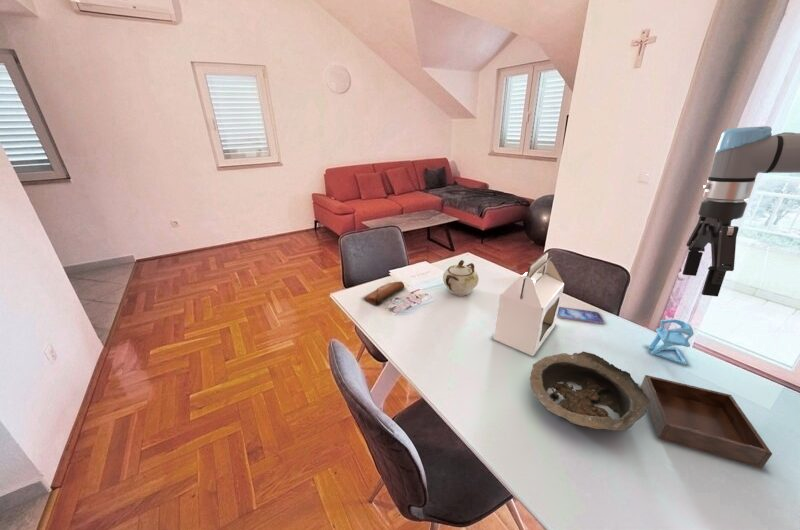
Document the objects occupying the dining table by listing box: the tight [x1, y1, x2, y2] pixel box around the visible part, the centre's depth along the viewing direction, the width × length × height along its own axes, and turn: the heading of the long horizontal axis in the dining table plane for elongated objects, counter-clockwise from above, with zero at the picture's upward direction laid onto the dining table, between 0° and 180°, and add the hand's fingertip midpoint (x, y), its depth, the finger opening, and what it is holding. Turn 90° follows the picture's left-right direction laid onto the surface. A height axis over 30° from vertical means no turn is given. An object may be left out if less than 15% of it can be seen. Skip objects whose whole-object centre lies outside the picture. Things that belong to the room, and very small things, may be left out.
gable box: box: [493, 251, 565, 357], centre depth 103 cm, size 22×13×28 cm, turn 139°
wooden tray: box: [639, 374, 773, 469], centre depth 74 cm, size 18×17×5 cm
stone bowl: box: [529, 351, 650, 432], centre depth 78 cm, size 25×25×9 cm
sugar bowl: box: [442, 259, 480, 297], centre depth 133 cm, size 20×15×15 cm
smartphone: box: [557, 306, 604, 324], centre depth 118 cm, size 7×1×15 cm
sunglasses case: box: [363, 281, 405, 306], centre depth 133 cm, size 18×7×7 cm
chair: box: [647, 318, 695, 366], centre depth 95 cm, size 8×8×12 cm
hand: (698, 284), depth 79 cm, fingers open, 13 cm apart
